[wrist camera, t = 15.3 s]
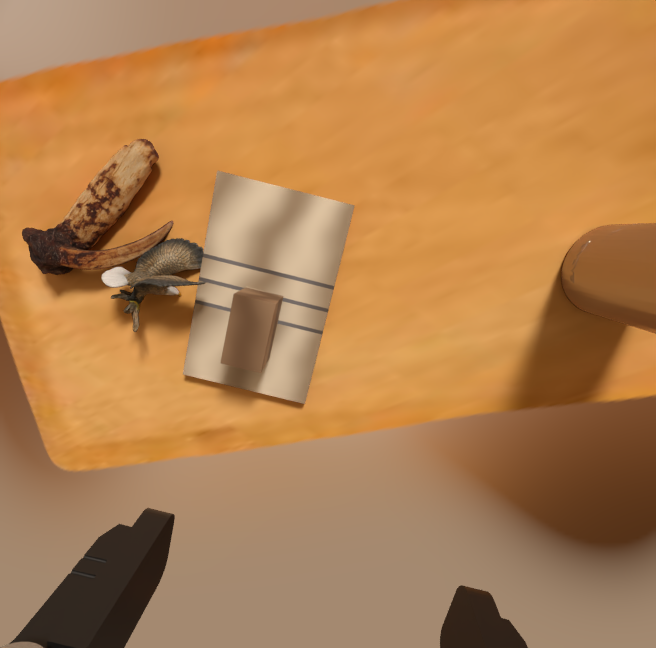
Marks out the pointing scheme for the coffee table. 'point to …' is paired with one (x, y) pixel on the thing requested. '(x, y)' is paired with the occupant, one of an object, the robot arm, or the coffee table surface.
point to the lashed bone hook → (98, 217)
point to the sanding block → (251, 329)
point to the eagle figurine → (155, 273)
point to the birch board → (267, 279)
